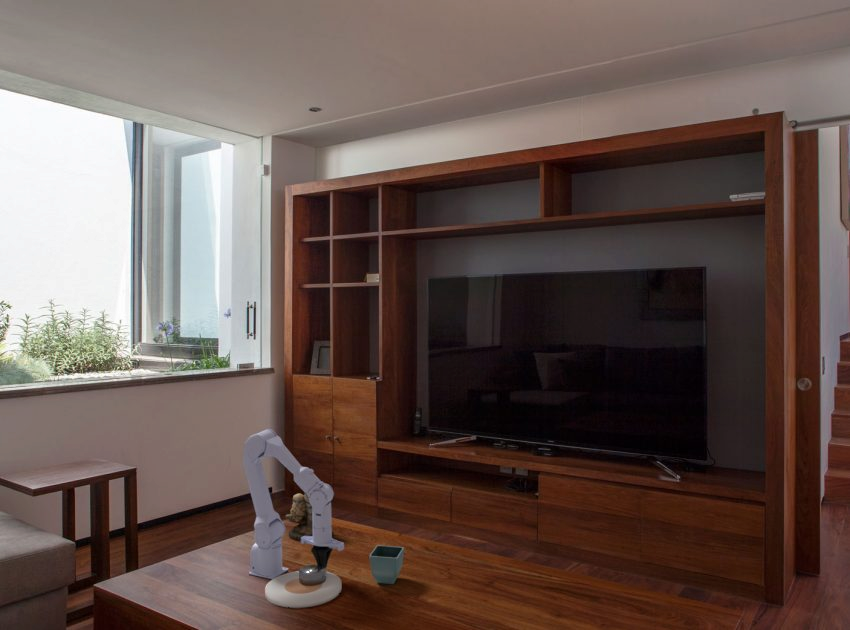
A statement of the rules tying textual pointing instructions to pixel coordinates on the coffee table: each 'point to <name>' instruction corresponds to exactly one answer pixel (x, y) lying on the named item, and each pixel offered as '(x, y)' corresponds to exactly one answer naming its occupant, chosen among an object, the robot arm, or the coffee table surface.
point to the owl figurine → (301, 517)
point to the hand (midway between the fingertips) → (322, 570)
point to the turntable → (301, 591)
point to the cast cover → (312, 575)
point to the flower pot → (386, 563)
